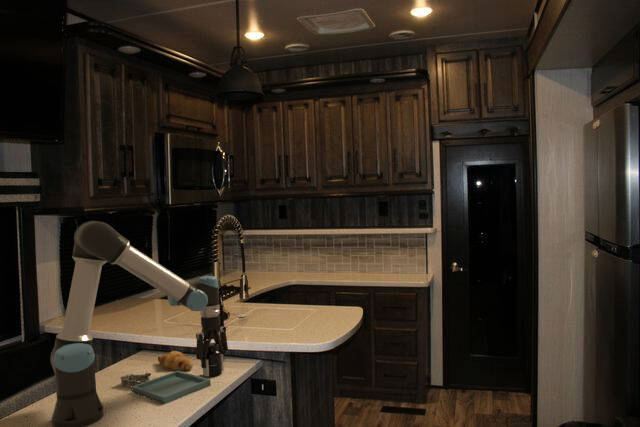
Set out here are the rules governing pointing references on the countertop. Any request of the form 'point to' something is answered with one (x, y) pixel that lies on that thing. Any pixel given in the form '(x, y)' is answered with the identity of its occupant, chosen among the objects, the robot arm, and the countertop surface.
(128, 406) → the countertop surface
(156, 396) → the tray
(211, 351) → the supplement bottle
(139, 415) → the countertop surface
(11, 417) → the countertop surface
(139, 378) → the egg carton
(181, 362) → the croissant
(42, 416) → the countertop surface
